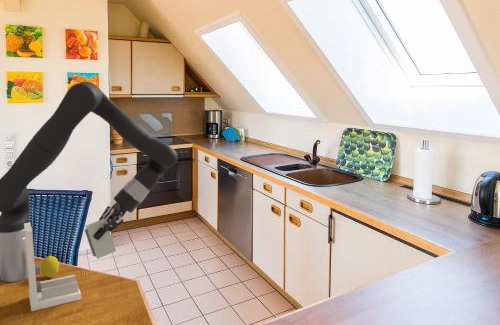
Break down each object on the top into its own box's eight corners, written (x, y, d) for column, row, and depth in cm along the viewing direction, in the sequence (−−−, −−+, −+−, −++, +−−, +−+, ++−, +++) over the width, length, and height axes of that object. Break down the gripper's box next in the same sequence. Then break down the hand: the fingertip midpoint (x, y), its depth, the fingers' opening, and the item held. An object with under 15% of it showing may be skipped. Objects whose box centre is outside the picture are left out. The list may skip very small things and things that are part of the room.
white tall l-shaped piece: (76, 286, 128) (72, 216, 124) (81, 299, 121) (77, 224, 117) (29, 297, 121) (23, 223, 117) (31, 311, 114) (24, 232, 109)
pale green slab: (113, 248, 130) (104, 218, 126) (115, 251, 128) (106, 220, 124) (93, 256, 126) (83, 226, 123) (95, 259, 124) (84, 229, 121)
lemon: (42, 275, 135) (40, 253, 134) (60, 273, 138) (58, 251, 136) (41, 282, 130) (39, 260, 129) (59, 279, 133) (58, 257, 131)
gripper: (118, 183, 133) (80, 223, 128) (129, 192, 121) (89, 237, 117) (134, 196, 136) (98, 236, 132) (146, 207, 125) (108, 250, 120)
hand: (94, 236), depth 124 cm, fingers closed on pale green slab, 2 cm apart
